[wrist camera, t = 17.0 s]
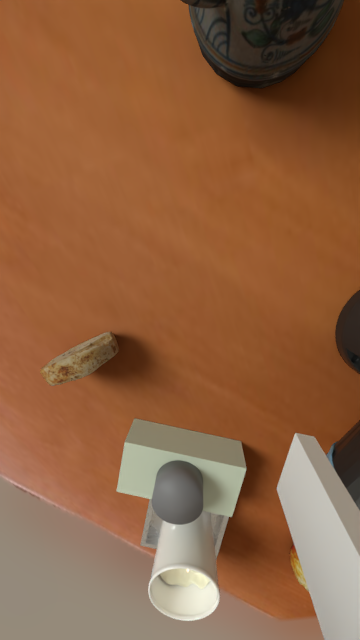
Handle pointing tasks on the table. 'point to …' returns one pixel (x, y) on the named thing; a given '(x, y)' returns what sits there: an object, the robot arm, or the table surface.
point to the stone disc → (80, 359)
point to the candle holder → (185, 570)
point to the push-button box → (181, 471)
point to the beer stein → (260, 36)
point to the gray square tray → (155, 523)
